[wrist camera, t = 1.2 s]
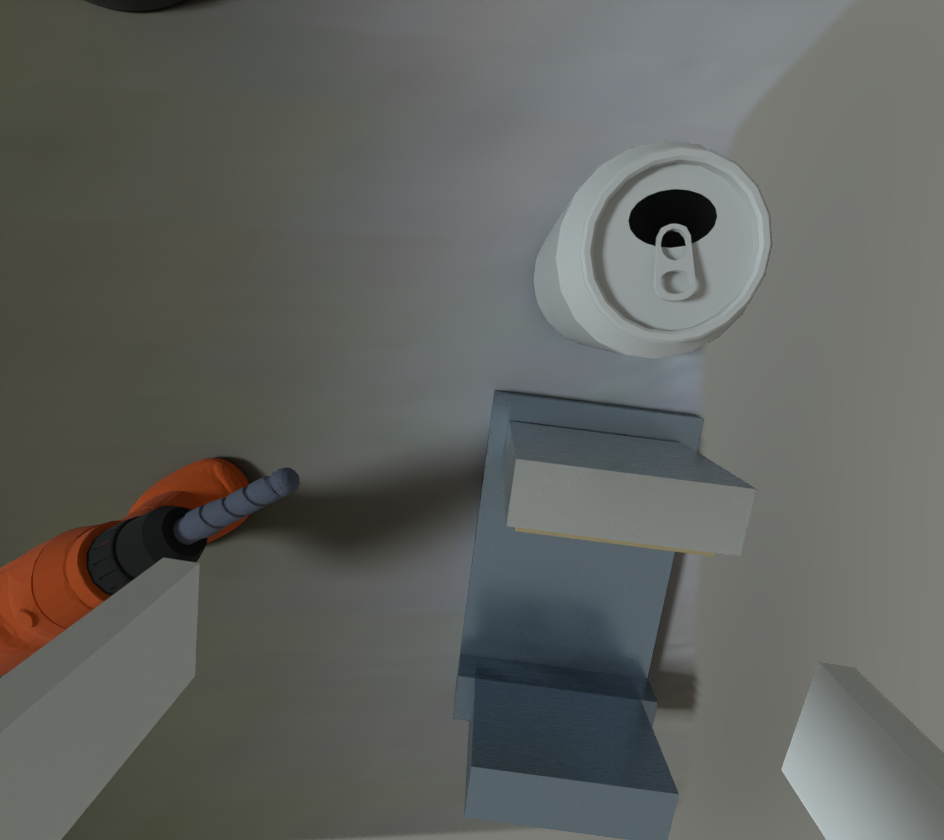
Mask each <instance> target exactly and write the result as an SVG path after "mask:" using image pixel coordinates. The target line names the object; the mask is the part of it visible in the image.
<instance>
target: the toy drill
mask: <svg viewBox="0 0 944 840" xmlns="http://www.w3.org/2000/svg"><path fill="white" fill-rule="evenodd" d="M299 484H300V482H299V476H298V474H297V473H296V472H295V471H294V470H293V469H291V468H281V469H278V470H277V471H275V472H273V474H272V476H265V477H263V478H260V479H258V480H256V481H254V482H252V483H251V484H250V483H249V481H248V479H247V478H246V476H245V475H244V474H243V472H242V471H241V470H240V469H239V468H238V467H237V466H236V465H234V464H232V463H231V462H229V461H227V460H224V459H220V458H209V459H203V460H200V461H196V462H194V463H192V464H189V465H187V466H185V467H183V468H181V469H179V470H177V471H175V472H173V473H172V474H170V475H168V476H166V477H165V478H163V479H162V480H160V481H159V482H157V483H156V484H154V485H153V486H151V487H150V488H149V489H148V490H147V491H146V492H145V493H144V494H143V495H142V496H141V497H140V498H139V499H138V500H137V502H136V503H135V504H134V505H133V507H132V508H131V509H130V511H129V513H128V515H127V516H125V517H124V518H123V519H121V520H120V521H111V522H108V523H104V524H100V525H93V526H86V527H80V528H75V529H72V530H69V531H66V532H64V533H62V534H60V535H58V536H56V537H54V538H52V539H51V540H49V541H47V542H45V543H43V544H41V545H39V546H37V547H35V548H33V549H31V550H30V551H28V552H27V553H25V554H24V555H22V556H21V557H19V558H17V559H16V560H14V561H12V562H10V563H8V564H7V565H5V566H3V567H1V568H0V676H1V675H4V674H7V673H8V672H10V671H11V670H12V669H14V668H15V667H16V666H18V665H19V664H20V663H22V662H23V661H24V660H26V659H27V658H28V657H30V656H31V655H32V654H34V653H35V652H37V651H38V650H39V649H41V648H42V647H43V646H45V645H46V644H47V643H49V642H50V641H51V640H53V639H54V638H55V637H57V636H58V635H59V634H61V633H62V632H64V631H65V630H66V629H68V628H69V627H70V626H72V625H73V624H74V623H76V622H77V621H78V620H80V619H81V618H82V617H84V616H85V615H87V614H88V613H89V612H91V611H92V610H93V609H95V608H96V607H97V606H99V605H100V604H101V603H103V602H104V601H105V600H107V599H108V598H109V597H111V596H112V595H114V594H115V593H116V592H118V591H119V590H120V589H122V588H123V587H124V586H126V585H127V584H128V583H130V582H131V581H132V580H134V579H135V578H136V577H138V576H139V575H141V574H142V573H143V572H145V571H146V570H147V569H149V568H150V567H151V566H153V565H154V564H155V563H157V562H158V561H159V560H161V559H162V558H163V557H164V558H170V559H176V560H182V561H189V562H195V563H196V562H197V560H198V559H199V558H200V556H201V554H202V552H203V550H204V548H205V546H206V544H207V543H209V542H211V541H213V540H216V539H218V538H220V537H221V536H223V535H225V534H227V533H229V532H230V531H232V530H234V529H235V528H237V527H238V526H239V525H240V524H242V523H243V522H244V521H245V520H246V519H247V517H248V516H249V515H250V514H252V513H254V512H256V511H258V510H260V509H262V508H264V507H266V506H268V505H269V504H271V503H274V502H276V501H278V500H279V499H281V498H283V497H285V496H287V495H290V494H292V493H293V492H294V491H296V490H297V489H298V486H299Z"/></svg>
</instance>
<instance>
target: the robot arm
mask: <svg viewBox="0 0 944 840" xmlns="http://www.w3.org/2000/svg"><path fill="white" fill-rule="evenodd" d="M84 1H87V2H89V3H92V4H95V5H98V6H102V7H106V8H110V9H116V10H125V11H145V10H154V9H159V8H164V7H167V6H170V5H174V4H176V3H179V2H181V1H184V0H84ZM199 565H200V563H195V562H189V561H182V560H176V559H170V558H164V557H163V558H162V559H161V560H159V561H158V562H157V563H155V564H154V565H153V566H151V567H150V568H149V569H147V570H146V571H145V572H143V573H142V574H141V575H139V576H138V577H136V578H135V579H134V580H132V581H131V582H130V583H128V584H127V585H126V586H124V587H123V588H122V589H120V590H119V591H118V592H116V593H115V594H114V595H112V596H111V597H109V598H108V599H107V600H105V601H104V602H103V603H101V604H100V605H99V606H97V607H96V608H95V609H93V610H92V611H91V612H89V613H88V614H87V615H85V616H84V617H82V618H81V619H80V620H78V621H77V622H76V623H74V624H73V625H72V626H70V627H69V628H68V629H66V630H65V631H64V632H62V633H61V634H59V635H58V636H57V637H55V638H54V639H53V640H51V641H50V642H49V643H47V644H46V645H45V646H43V647H42V648H41V649H39V650H38V651H37V652H35V653H34V654H32V655H31V656H30V657H28V658H27V659H26V660H24V661H23V662H22V663H20V664H19V665H18V666H16V667H15V668H14V669H12V670H11V671H10V672H8V673H7V674H5V675H4V676H3V677H1V678H0V840H61V839H62V838H63V837H64V835H65V834H66V833H67V832H68V831H69V829H70V828H71V827H72V826H73V824H74V823H75V822H76V821H77V820H78V818H79V817H80V816H81V815H82V813H83V812H84V811H85V810H86V809H87V807H88V806H89V805H90V804H91V802H92V801H93V800H94V799H95V798H96V796H97V795H98V794H99V793H100V791H101V790H102V789H103V788H104V787H105V785H106V784H107V783H108V782H109V780H110V779H111V778H112V777H113V776H114V774H115V773H116V772H117V771H118V769H119V768H120V767H121V766H122V765H123V763H124V762H125V761H126V760H127V758H128V757H129V756H130V755H131V754H132V752H133V751H134V750H135V749H136V747H137V746H138V745H139V744H140V742H141V741H142V740H143V739H144V738H145V736H146V735H147V734H148V733H149V731H150V730H151V729H152V728H153V727H154V725H155V724H156V723H157V722H158V720H159V719H160V718H161V717H162V716H163V714H164V713H165V712H166V711H167V709H168V708H169V707H170V706H171V705H172V703H173V702H174V701H175V700H176V698H177V697H178V696H179V695H180V694H181V692H182V691H183V690H184V689H185V687H186V686H187V685H188V684H189V683H190V681H191V680H192V679H193V678H194V676H195V659H196V635H197V612H198V588H199ZM782 772H783V773H784V775H785V776H786V778H787V779H788V781H789V782H790V784H791V786H792V787H793V789H794V790H795V792H796V793H797V795H798V796H799V798H800V800H801V801H802V803H803V804H804V806H805V807H806V809H807V810H808V812H809V814H810V815H811V817H812V818H813V819H814V821H815V823H816V824H817V826H818V827H819V829H820V831H821V832H822V834H823V835H824V837H825V838H826V840H944V753H943V752H942V751H941V750H940V749H939V748H938V747H937V746H936V745H935V744H934V743H933V742H932V741H931V740H930V739H928V737H927V736H925V735H924V734H923V733H922V732H921V731H920V730H919V729H918V728H917V727H916V726H915V725H914V724H913V723H912V722H911V721H910V720H909V719H908V718H907V717H906V716H905V715H904V714H903V713H901V712H900V711H899V710H898V709H897V708H896V707H895V706H894V705H893V704H892V703H891V702H890V701H889V700H888V699H887V698H886V697H885V696H884V695H883V694H882V693H880V691H879V690H878V689H876V688H875V687H874V686H873V685H872V684H871V683H870V682H869V681H868V680H867V679H866V678H865V677H864V676H863V675H862V674H861V673H860V672H859V671H858V670H857V669H855V668H853V667H847V666H841V665H835V664H828V663H822V662H819V663H818V665H817V668H816V672H815V674H814V677H813V680H812V683H811V686H810V688H809V691H808V694H807V697H806V700H805V703H804V706H803V709H802V711H801V714H800V717H799V720H798V723H797V726H796V729H795V732H794V735H793V737H792V741H791V743H790V746H789V749H788V752H787V755H786V758H785V761H784V763H783V766H782Z"/></svg>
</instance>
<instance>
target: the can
mask: <svg viewBox="0 0 944 840" xmlns="http://www.w3.org/2000/svg"><path fill="white" fill-rule="evenodd" d="M771 248H772V236H771V222H770V213H769V210H768V208H767V205H766V203H765V201H764V198H763V196H762V194H761V191H760V189H759V186H758V185H757V184H756V183H755V182H754V180H753V179H752V178H751V177H750V176H749V175H748V174H747V173H746V172H745V171H744V170H743V168H742V167H741V166H740V165H739V164H738V163H736V162H734V161H733V160H731V159H729V158H727V157H725V156H723V155H721V154H719V153H717V152H715V151H713V150H711V149H707V148H705V147H703V146H701V145H698V144H690V143H682V142H674V141H666V140H665V141H660V142H656V143H651V144H646V145H642V146H637V147H633V148H630V149H628V150H627V151H625V152H623V153H621V154H620V155H618V156H616V157H615V158H613V159H611V160H609V161H608V162H606V163H604V164H603V165H601V166H600V167H599V168H598V169H597V170H596V171H595V172H594V173H593V174H592V175H591V177H590V178H589V179H588V180H587V181H586V182H585V183H584V184H583V185H582V186H581V188H580V189H579V190H578V191H577V192H576V193H575V195H574V196H573V198H572V199H571V201H570V202H569V204H568V205H567V207H566V208H565V210H564V211H563V213H562V214H561V216H560V217H559V219H558V221H557V222H556V224H555V225H554V227H553V228H552V230H551V231H550V233H549V234H548V236H547V237H546V239H545V241H544V243H543V245H542V248H541V250H540V252H539V254H538V256H537V259H536V266H535V272H534V279H533V281H534V287H535V293H536V299H537V303H538V305H539V307H540V309H541V311H542V313H543V314H544V316H545V318H546V320H547V321H548V322H549V323H550V324H551V325H552V326H553V327H554V328H555V329H556V330H557V331H558V332H559V333H560V334H561V335H562V336H564V337H566V338H568V339H571V340H573V341H575V342H577V343H579V344H582V345H586V346H590V347H594V348H598V349H602V350H606V351H611V352H615V353H619V354H623V355H629V356H637V357H645V358H652V359H660V358H665V357H670V356H676V355H681V354H687V353H690V352H692V351H693V350H695V349H697V348H699V347H701V346H703V345H705V344H707V343H709V342H711V341H713V340H714V339H716V338H718V337H719V336H720V335H721V334H722V333H723V332H724V331H725V330H726V329H728V328H729V327H730V326H731V325H732V324H733V323H734V322H735V321H736V320H737V319H738V318H739V317H740V316H741V315H742V314H743V312H744V310H745V309H746V307H747V305H748V304H749V302H750V301H751V299H752V297H753V295H754V294H755V292H756V290H757V288H758V287H759V285H760V283H761V281H762V280H763V278H764V276H765V273H766V269H767V265H768V260H769V256H770V252H771Z"/></svg>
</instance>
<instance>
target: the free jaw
mask: <svg viewBox="0 0 944 840" xmlns="http://www.w3.org/2000/svg"><path fill="white" fill-rule="evenodd" d="M502 479H503V491H504V503H505V516H506V526H509V527H514V528H515V531H518V532H526V533H534V534H542V535H550V536H557V537H565V538H573V539H581V540H588V541H596V542H604V543H612V544H620V545H627V546H635V547H643V548H651V549H659V550H666V551H674V552H682V553H690V554H698V555H705V556H713V557H715V554H716V553H720V554H728V555H735V556H740V555H741V551H742V547H743V543H744V539H745V535H746V531H747V527H748V523H749V519H750V515H751V511H752V506H753V502H754V499H755V494H756V491H757V489H755V488H754V487H752V486H751V485H749V484H747V483H746V482H744V481H743V480H741V479H739V478H738V477H736V476H735V475H733V474H731V473H730V472H728V471H727V470H725V469H723V468H722V467H720V466H718V465H717V464H715V463H714V462H712V461H711V460H709V459H707V458H706V457H704V456H703V455H701V454H699V453H698V452H696V451H695V450H693V449H691V448H690V447H688V446H687V445H685V444H683V443H679V442H671V441H663V440H655V439H647V438H639V437H631V436H623V435H615V434H607V433H599V432H591V431H584V430H576V429H568V428H560V427H552V426H544V425H536V424H528V423H520V422H512V421H509V423H508V430H507V438H506V445H505V452H504V459H503V466H502Z"/></svg>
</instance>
